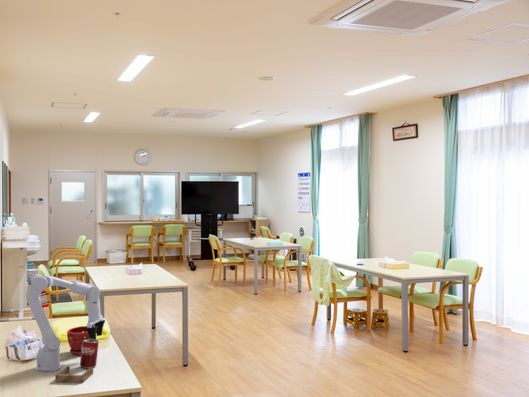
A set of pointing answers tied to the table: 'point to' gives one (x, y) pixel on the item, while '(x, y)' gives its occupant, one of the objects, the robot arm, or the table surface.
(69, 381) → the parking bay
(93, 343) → the soda can
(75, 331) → the plant pot
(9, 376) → the table surface
